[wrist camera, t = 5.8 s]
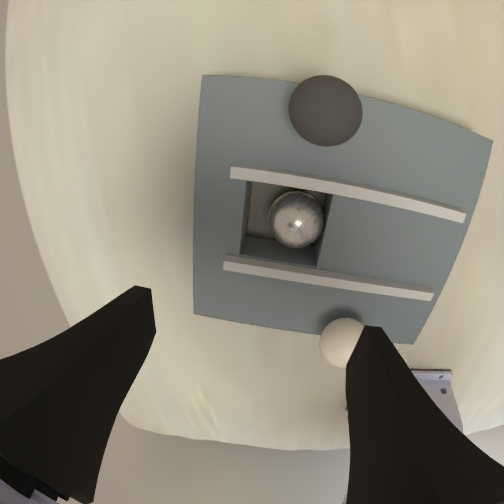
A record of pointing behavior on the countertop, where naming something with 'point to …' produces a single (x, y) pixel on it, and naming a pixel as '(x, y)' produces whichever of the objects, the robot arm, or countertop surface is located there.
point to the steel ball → (296, 219)
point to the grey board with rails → (329, 212)
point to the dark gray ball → (325, 110)
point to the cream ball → (340, 340)
